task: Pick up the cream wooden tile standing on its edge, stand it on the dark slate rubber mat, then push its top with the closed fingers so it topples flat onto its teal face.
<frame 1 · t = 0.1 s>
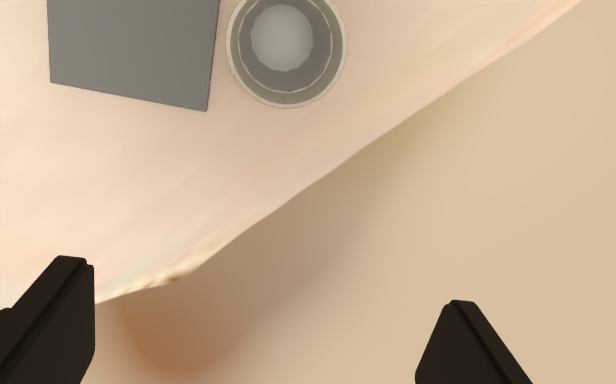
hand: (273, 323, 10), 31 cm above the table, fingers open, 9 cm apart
mat: (135, 12, 35), on the table
cup: (281, 37, 37), on the table
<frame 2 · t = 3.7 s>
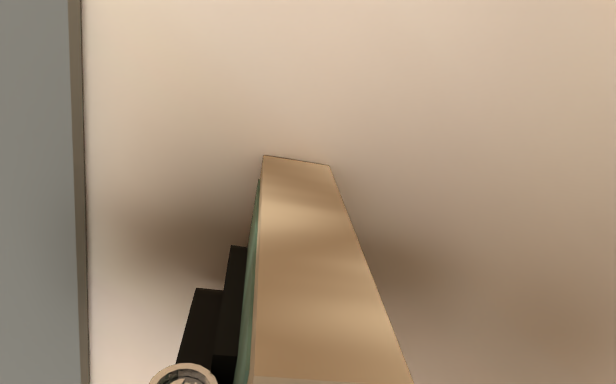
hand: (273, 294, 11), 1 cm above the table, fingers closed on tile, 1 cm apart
tile: (272, 280, 12), on the table, touching gripper
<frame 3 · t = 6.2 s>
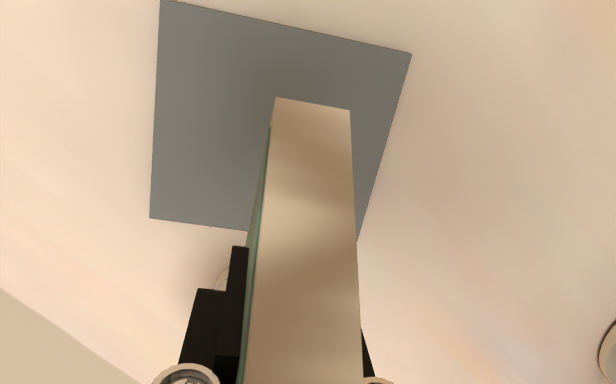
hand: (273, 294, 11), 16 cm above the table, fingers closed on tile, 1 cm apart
tile: (284, 195, 12), point 14 cm above the table, tilted 31°, touching gripper
mat: (272, 138, 26), on the table
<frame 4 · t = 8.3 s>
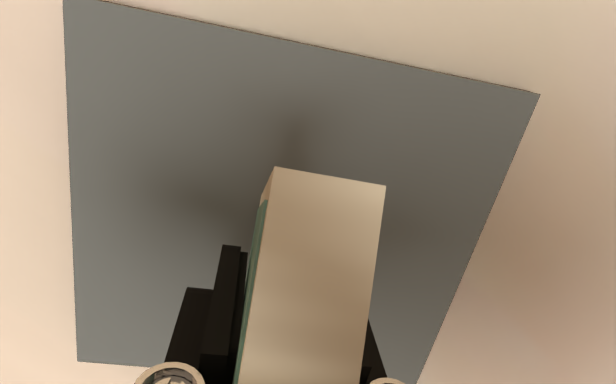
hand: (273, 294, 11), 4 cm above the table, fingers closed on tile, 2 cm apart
tile: (299, 192, 10), point 4 cm above the table, tilted 62°, touching gripper, mat
mat: (283, 234, 15), on the table
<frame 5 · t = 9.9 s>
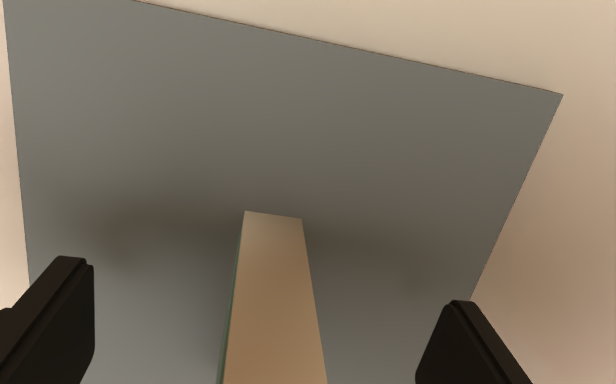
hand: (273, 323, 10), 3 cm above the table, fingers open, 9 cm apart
tile: (275, 299, 9), point 5 cm above the table, tilted 90°, touching mat
mat: (271, 251, 14), on the table
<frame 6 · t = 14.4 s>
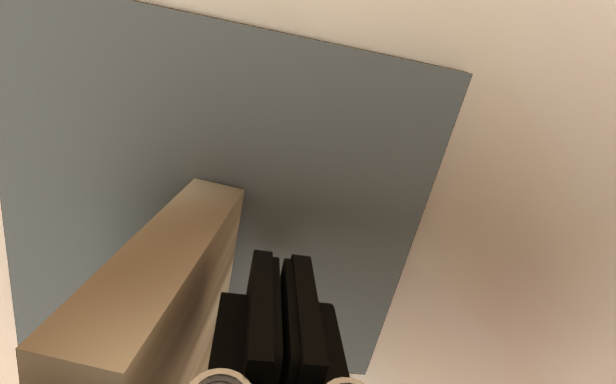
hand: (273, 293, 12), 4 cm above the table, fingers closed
tile: (172, 239, 10), point 5 cm above the table, tilted 90°, touching mat
mat: (223, 218, 15), on the table
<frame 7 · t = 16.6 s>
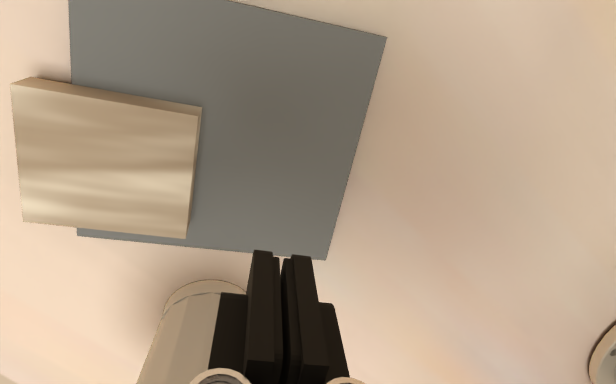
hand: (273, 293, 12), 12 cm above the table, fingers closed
tile: (114, 96, 19), point 2 cm above the table, tilted 90°, touching mat
mat: (223, 139, 22), on the table
cup: (210, 314, 27), on the table
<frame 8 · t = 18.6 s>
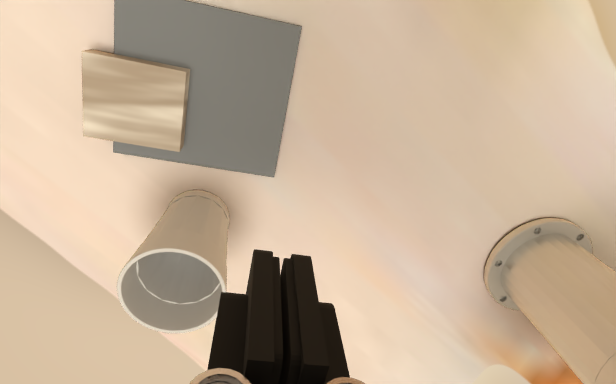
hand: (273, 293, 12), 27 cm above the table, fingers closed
tile: (138, 60, 32), point 2 cm above the table, tilted 90°, touching mat
mat: (204, 90, 35), on the table
cup: (198, 217, 40), on the table
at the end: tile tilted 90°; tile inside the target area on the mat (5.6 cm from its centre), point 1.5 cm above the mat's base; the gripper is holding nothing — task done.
